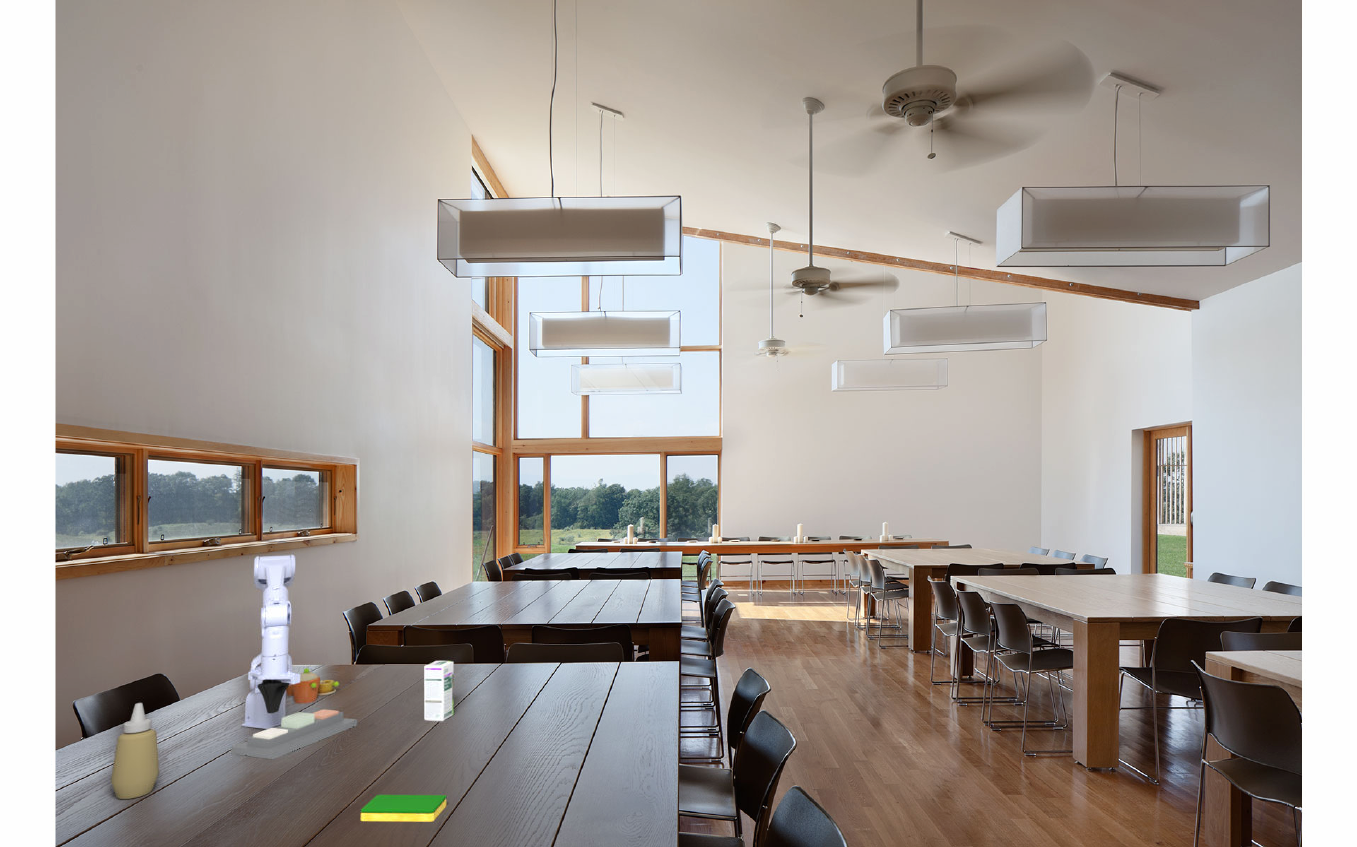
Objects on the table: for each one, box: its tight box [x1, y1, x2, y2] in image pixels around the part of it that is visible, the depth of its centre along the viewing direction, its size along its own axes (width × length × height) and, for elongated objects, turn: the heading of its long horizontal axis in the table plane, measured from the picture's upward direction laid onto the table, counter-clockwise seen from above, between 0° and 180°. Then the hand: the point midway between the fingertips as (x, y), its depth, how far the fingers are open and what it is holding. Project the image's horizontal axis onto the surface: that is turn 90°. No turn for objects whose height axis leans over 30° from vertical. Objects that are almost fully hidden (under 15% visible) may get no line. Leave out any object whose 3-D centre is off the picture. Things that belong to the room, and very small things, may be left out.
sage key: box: [281, 711, 315, 729], centre depth 187 cm, size 5×5×2 cm
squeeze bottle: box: [110, 702, 160, 800], centre depth 154 cm, size 8×8×18 cm
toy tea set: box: [248, 667, 340, 704], centre depth 225 cm, size 26×16×10 cm, turn 90°
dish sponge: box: [360, 794, 447, 823], centre depth 142 cm, size 7×14×2 cm, turn 87°
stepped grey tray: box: [230, 711, 358, 760], centre depth 186 cm, size 13×26×4 cm, turn 160°
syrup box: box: [423, 660, 455, 722], centre depth 202 cm, size 6×6×14 cm
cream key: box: [252, 727, 288, 739], centre depth 179 cm, size 5×5×2 cm
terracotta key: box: [311, 709, 340, 719], centre depth 194 cm, size 5×5×2 cm
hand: (272, 712), depth 180 cm, fingers closed
